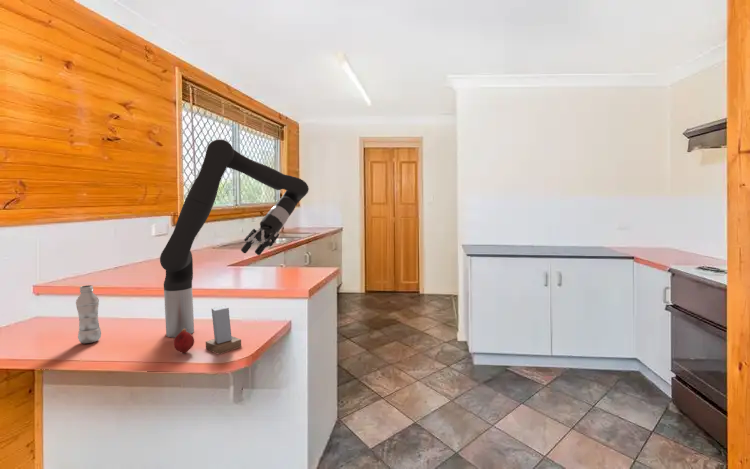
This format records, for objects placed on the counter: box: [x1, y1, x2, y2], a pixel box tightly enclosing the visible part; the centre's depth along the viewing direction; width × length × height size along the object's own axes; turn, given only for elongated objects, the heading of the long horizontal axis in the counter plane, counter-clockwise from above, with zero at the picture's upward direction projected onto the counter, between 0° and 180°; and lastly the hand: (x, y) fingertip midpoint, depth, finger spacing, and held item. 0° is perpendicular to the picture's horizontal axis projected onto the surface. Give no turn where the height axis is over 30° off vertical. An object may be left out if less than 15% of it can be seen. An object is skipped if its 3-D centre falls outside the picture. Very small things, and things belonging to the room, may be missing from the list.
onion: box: [173, 329, 195, 354], centre depth 116 cm, size 6×6×8 cm
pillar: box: [211, 305, 232, 344], centre depth 120 cm, size 4×4×11 cm
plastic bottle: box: [75, 284, 102, 344], centre depth 126 cm, size 6×7×20 cm
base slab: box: [205, 335, 242, 355], centre depth 121 cm, size 8×8×3 cm
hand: (249, 252), depth 130 cm, fingers open, 8 cm apart
